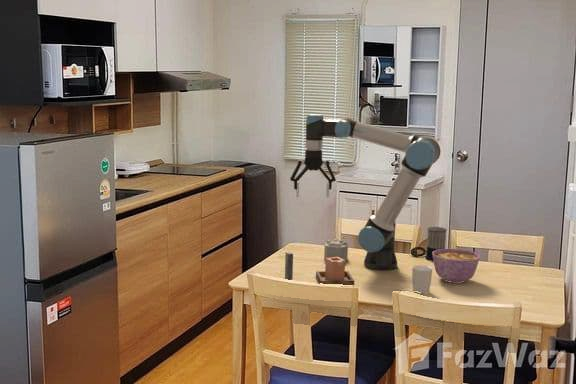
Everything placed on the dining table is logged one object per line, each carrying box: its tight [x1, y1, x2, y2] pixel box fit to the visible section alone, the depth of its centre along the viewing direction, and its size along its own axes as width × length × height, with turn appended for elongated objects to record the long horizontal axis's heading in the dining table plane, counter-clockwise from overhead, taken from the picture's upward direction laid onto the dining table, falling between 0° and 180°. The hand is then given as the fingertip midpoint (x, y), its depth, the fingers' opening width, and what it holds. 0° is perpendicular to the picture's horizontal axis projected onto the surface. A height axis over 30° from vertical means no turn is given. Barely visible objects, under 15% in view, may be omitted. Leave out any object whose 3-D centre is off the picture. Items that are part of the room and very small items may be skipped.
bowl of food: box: [432, 248, 481, 282], centre depth 308 cm, size 20×20×12 cm
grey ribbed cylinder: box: [410, 226, 448, 262], centre depth 344 cm, size 14×16×15 cm
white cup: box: [411, 264, 433, 294], centre depth 291 cm, size 8×8×10 cm
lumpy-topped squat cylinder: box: [323, 238, 349, 262], centre depth 339 cm, size 10×13×9 cm
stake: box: [284, 252, 294, 280], centre depth 305 cm, size 2×2×11 cm
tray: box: [315, 270, 355, 286], centre depth 303 cm, size 14×14×2 cm
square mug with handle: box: [324, 257, 346, 280], centre depth 302 cm, size 6×8×9 cm
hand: (312, 196), depth 322 cm, fingers open, 13 cm apart
